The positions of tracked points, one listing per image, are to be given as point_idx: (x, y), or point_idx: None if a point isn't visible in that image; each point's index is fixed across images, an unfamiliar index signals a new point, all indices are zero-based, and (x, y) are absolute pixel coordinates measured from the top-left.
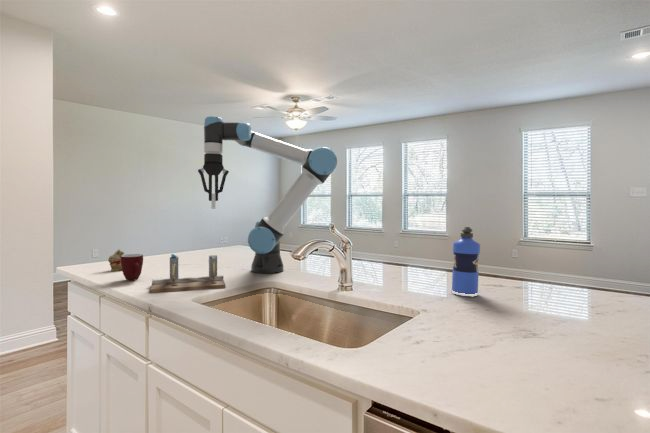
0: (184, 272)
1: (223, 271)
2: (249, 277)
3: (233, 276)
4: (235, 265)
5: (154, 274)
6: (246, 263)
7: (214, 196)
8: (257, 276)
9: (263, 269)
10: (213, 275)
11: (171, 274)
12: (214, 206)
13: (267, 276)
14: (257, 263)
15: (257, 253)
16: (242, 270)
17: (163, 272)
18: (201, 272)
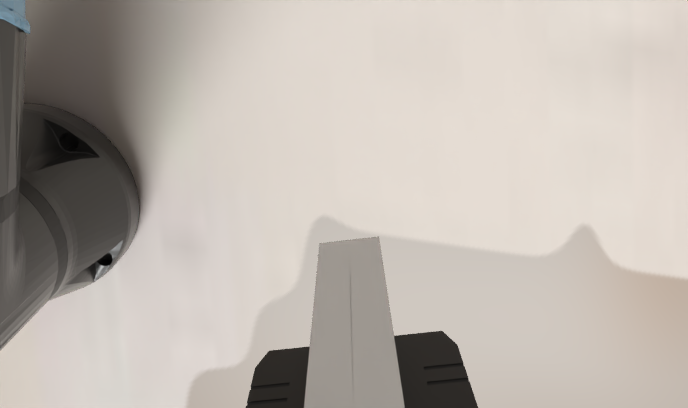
0: (507, 210)
1: (297, 205)
2: (133, 13)
3: (230, 57)
4: (241, 355)
5: (662, 182)
6: (184, 399)
7: (330, 378)
8: (87, 34)
9: (46, 112)
10: None
11: None
12: (333, 258)
13: None
14: (73, 158)
15: (45, 197)
16: (191, 217)
17: (616, 227)
18: (416, 196)
